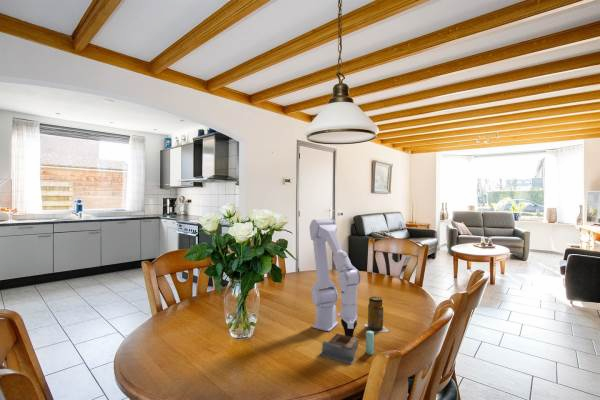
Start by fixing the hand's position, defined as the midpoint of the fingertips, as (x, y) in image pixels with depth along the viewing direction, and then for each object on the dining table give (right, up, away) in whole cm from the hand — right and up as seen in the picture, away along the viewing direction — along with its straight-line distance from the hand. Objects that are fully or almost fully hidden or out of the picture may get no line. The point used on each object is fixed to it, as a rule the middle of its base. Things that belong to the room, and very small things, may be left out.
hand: (348, 340), depth 111 cm
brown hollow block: (-3, -1, -5) cm, 5 cm away
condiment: (+13, -2, +14) cm, 19 cm away
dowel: (+6, -2, -6) cm, 9 cm away
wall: (-5, -1, -9) cm, 10 cm away
